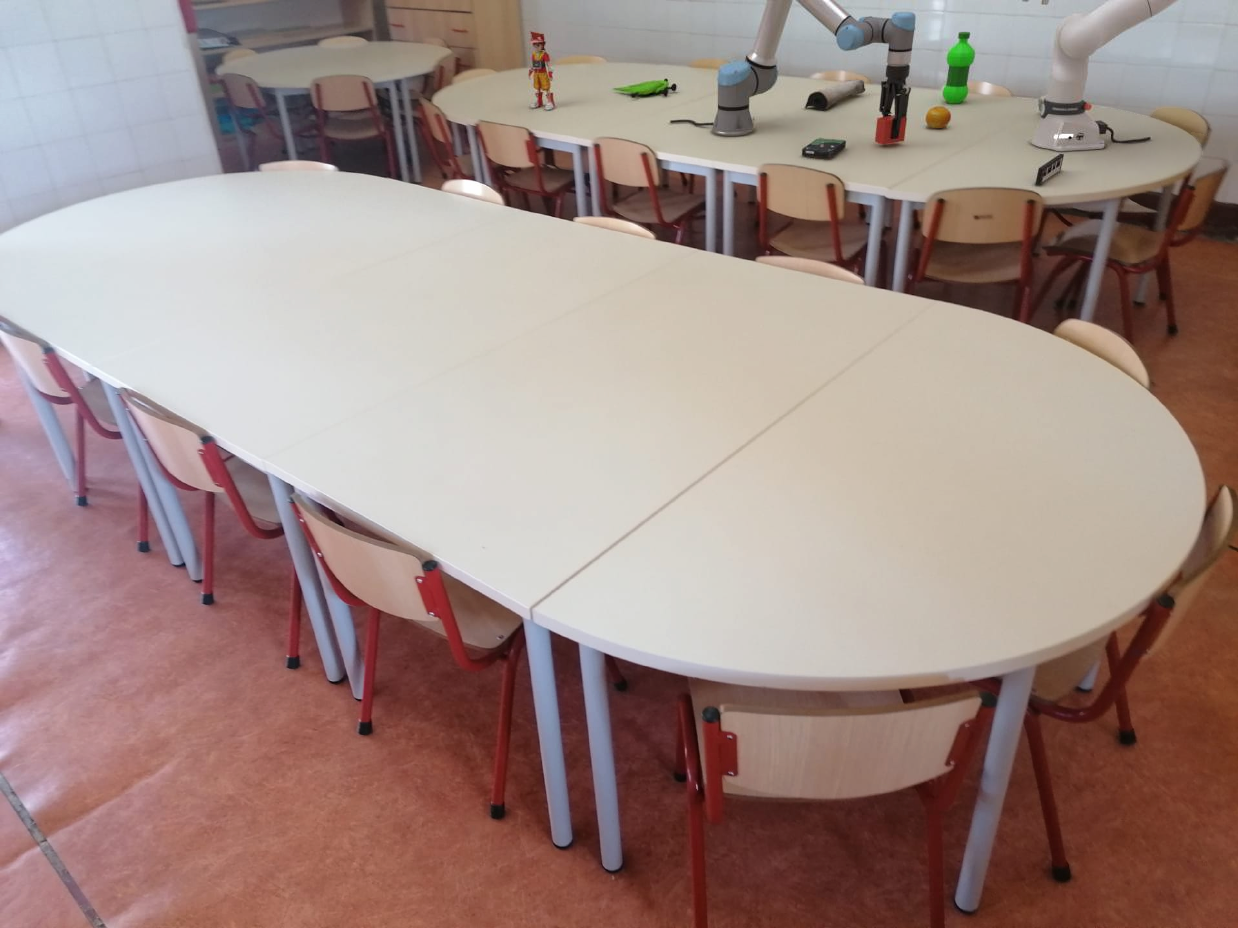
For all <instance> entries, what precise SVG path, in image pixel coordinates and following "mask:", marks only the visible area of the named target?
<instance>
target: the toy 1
mask: <svg viewBox="0 0 1238 928" xmlns="http://www.w3.org/2000/svg"><path fill="white" fill-rule="evenodd" d="M529 33H530V35H531V36H528V37H527V38H528V39H529V40H528V41H527V43H529V44H530V43H531V44H532V48H533V50H534V51H533V52H532V55H531V58H530V59H531V63H530V66H528V74H527V75H528V76H527V77H528V79H529V80H531V75H532V74H533V84H532V85H533V86H532V87H533V88H534V89H535V90H536V92H534V95H535V97H536V100H535V101H533V102H531V105H530V108H531V109H535V108H538V107H542V106H544V101H543V100H544V99H543V95H544V92H546V94H545V97H546V99H547V103H546V104H545V106H544V110H546V111H549V110H553V109H554V107H555V106H556V105H555V99H554V92H551V91H550V90H551V86H552V84H551V82H552V81H553V80H554V77H553V73H554V71H555V70H554V69H552V68H551V63H550V61H551V59H550V58H551V57H550V54H549V53H548V52H547V50H546V48H545V46H546V44H547V41H545V35H544V33H543V32H542V33H539V32H535V31H529Z"/></svg>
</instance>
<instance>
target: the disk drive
mask: <svg viewBox="0 0 1238 928" xmlns="http://www.w3.org/2000/svg"><path fill="white" fill-rule="evenodd" d="M846 145H847V140H843V139H833V138H829V139H828V138H822V137H819V138H816V139H814V140H813V141H811V142H810V143H809V144H807V145H805V146H804V147H803V148H802V149H801V156H802V157H803V156H804V157H808V158H815V159H825V160H830V159H833V157H835V156H836V155H837V154H839V153H840V152H842V151H843V150H844V149H846V147H847V146H846Z"/></svg>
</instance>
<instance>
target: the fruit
mask: <svg viewBox="0 0 1238 928" xmlns="http://www.w3.org/2000/svg"><path fill="white" fill-rule="evenodd" d="M951 119H952V114H951V111H950V110H949V109H948V108H947V107H945V106H941V105H938V106H933V107H931V108H930V109H928V111H927V112H926V115H925V123H926V125H927V126H928V127H929V128H932V129H943V128H945V127H946V126H947V125H948V124H949V123H950V122H951Z"/></svg>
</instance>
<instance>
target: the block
mask: <svg viewBox="0 0 1238 928" xmlns="http://www.w3.org/2000/svg"><path fill="white" fill-rule="evenodd" d="M893 118H895V114H894V115H891V116H887V117H883V116H881V117H877V119H876V127H875V137H874V143H877V144H879V145H881V146H885V145H890V144H895V143H901V142H904V141H905V137H906V136H905V135H906V129H907V121H908V116H906V118H902V120H901V127H900V130H899V138H896V139H891V131H892V123H893Z"/></svg>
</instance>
